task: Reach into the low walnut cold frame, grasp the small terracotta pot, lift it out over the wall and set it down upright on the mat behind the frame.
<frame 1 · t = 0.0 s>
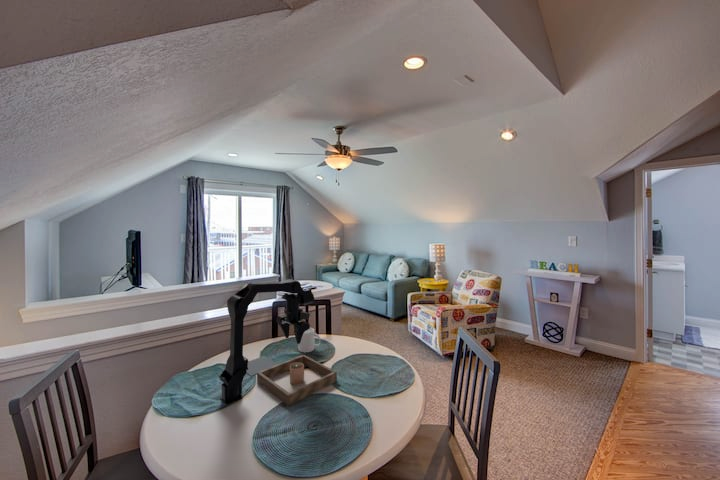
hand: (292, 340, 137), 15 cm above the table, fingers open, 9 cm apart
frame: (297, 381, 130), on the table
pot: (296, 373, 130), in the frame
mat: (258, 365, 144), on the table
mug: (309, 350, 162), on the table
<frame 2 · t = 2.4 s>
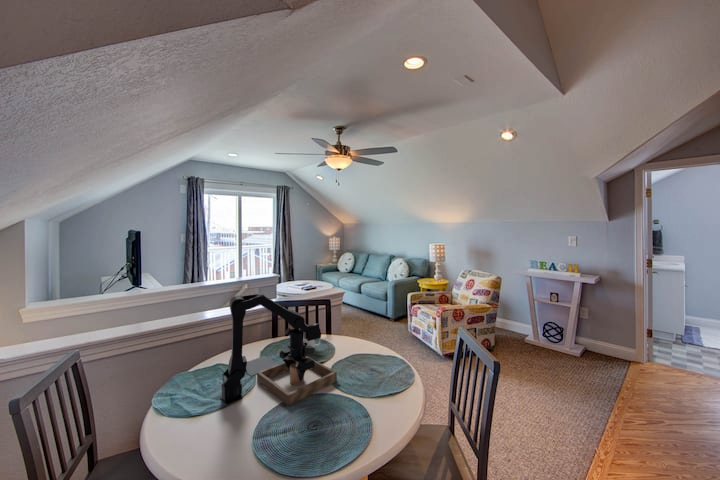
hand: (296, 377, 130), 2 cm above the table, fingers closed on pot, 6 cm apart
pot: (296, 373, 130), in the frame, touching gripper
everything else where it was.
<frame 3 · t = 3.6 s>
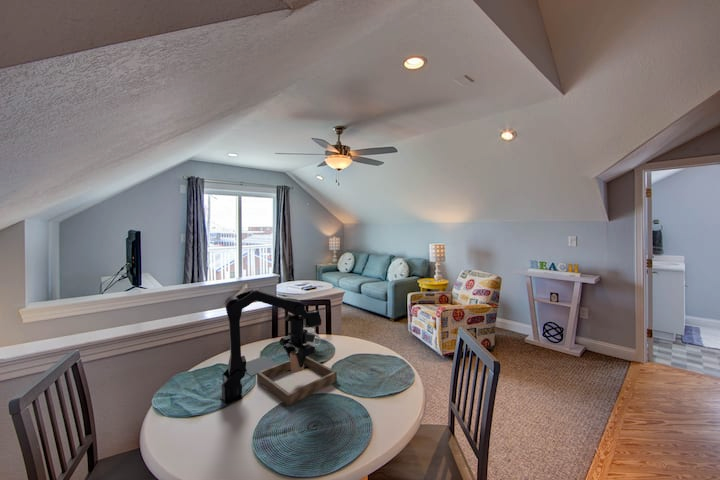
hand: (297, 364, 129), 7 cm above the table, fingers closed on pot, 6 cm apart
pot: (297, 360, 129), point 9 cm above the table, touching gripper
everything else where it was.
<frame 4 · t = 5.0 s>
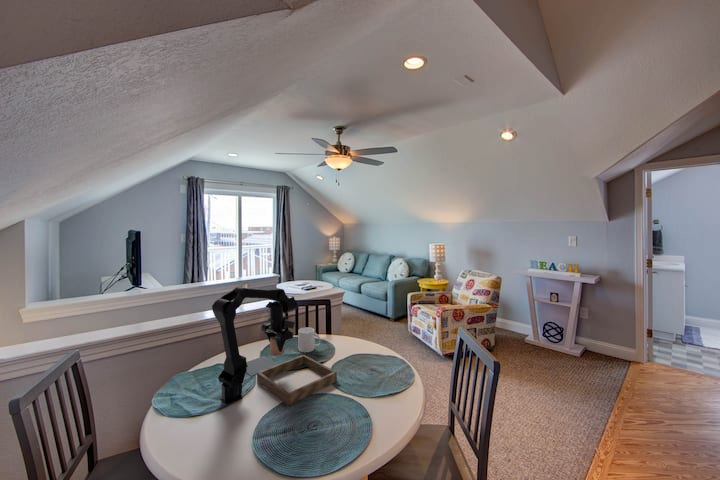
hand: (277, 349, 136), 11 cm above the table, fingers closed on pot, 6 cm apart
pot: (277, 345, 136), point 13 cm above the table, touching gripper
everything else where it was.
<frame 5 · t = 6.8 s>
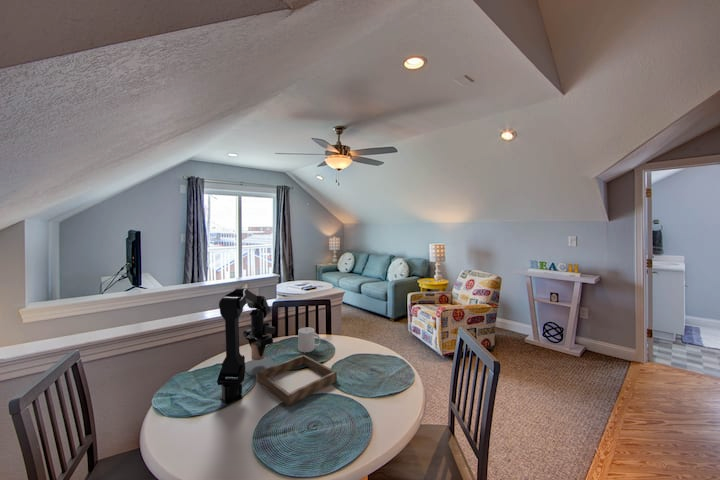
hand: (258, 354, 143), 6 cm above the table, fingers closed on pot, 6 cm apart
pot: (258, 350, 143), point 8 cm above the table, touching gripper
everything else where it was.
when the fingers open (4 cm above the table, at t = 8.0 s): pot drops 2 cm, resting on mat.
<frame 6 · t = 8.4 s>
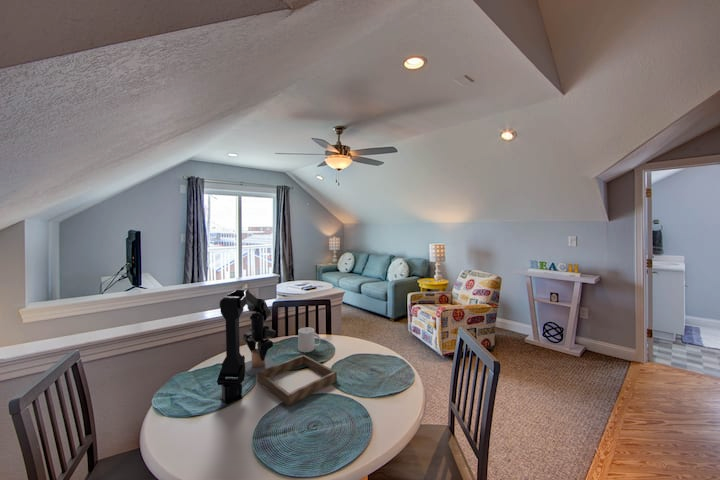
hand: (258, 357, 143), 4 cm above the table, fingers open, 9 cm apart
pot: (258, 357, 143), resting on mat
everything else where it was.
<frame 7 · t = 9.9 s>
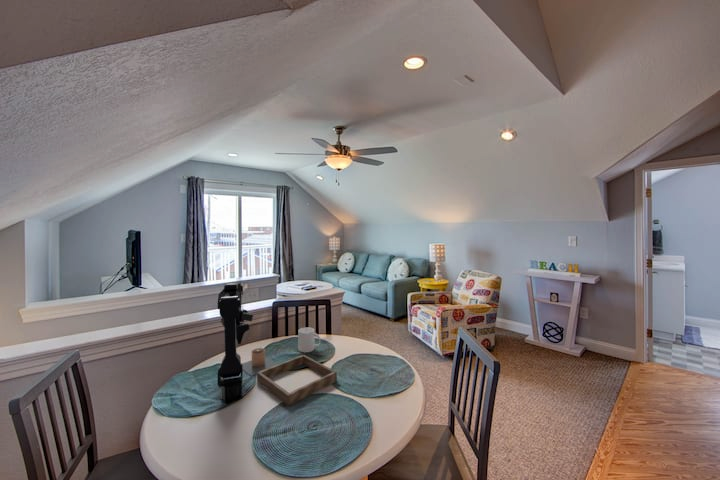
hand: (235, 341, 143), 12 cm above the table, fingers open, 9 cm apart
nothing on the table moved.
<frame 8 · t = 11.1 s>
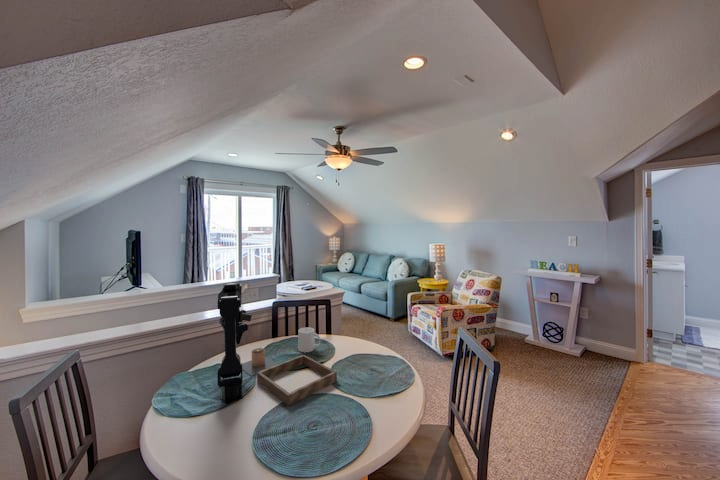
hand: (233, 341, 143), 12 cm above the table, fingers open, 9 cm apart
nothing on the table moved.
at the end: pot inside the target area (0.1 cm from its centre), resting on mat; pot tilted 0°; the gripper is holding nothing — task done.
